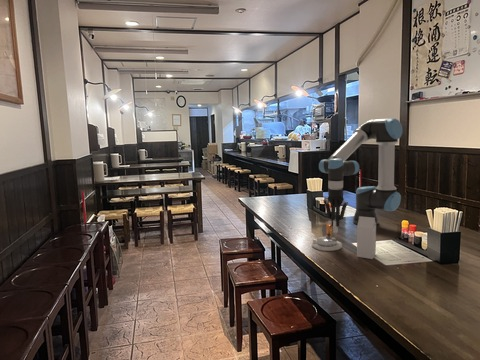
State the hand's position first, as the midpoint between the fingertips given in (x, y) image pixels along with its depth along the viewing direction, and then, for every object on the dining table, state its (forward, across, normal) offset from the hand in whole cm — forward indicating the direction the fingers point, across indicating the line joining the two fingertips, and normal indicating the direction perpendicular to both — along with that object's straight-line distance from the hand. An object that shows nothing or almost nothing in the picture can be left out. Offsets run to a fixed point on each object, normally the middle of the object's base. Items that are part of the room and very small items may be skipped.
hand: (335, 232), depth 184 cm
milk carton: (+6, -20, +9) cm, 23 cm away
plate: (+6, +2, +7) cm, 9 cm away
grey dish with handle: (+5, +2, +5) cm, 7 cm away
